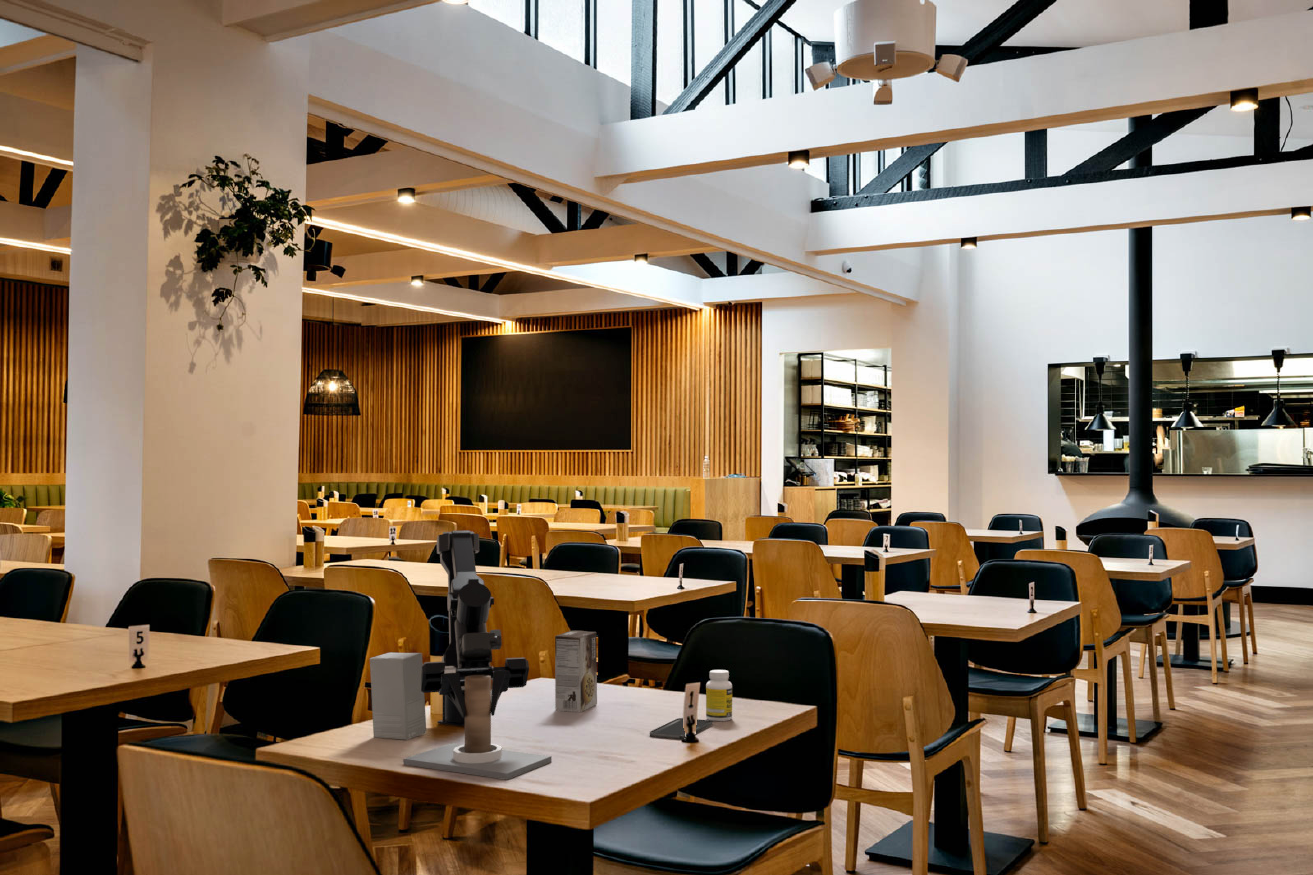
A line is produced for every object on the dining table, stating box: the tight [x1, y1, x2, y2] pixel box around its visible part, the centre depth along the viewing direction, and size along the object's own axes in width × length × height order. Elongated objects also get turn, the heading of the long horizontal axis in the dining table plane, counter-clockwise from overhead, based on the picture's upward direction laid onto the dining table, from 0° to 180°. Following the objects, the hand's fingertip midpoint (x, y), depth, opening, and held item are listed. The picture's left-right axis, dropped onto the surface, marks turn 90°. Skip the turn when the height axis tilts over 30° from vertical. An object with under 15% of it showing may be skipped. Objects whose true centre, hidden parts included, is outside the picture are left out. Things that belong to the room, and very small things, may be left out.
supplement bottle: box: [705, 669, 733, 722], centre depth 223 cm, size 5×5×10 cm
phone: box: [649, 717, 714, 741], centre depth 213 cm, size 8×1×15 cm
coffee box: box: [554, 630, 598, 713], centre depth 236 cm, size 9×6×16 cm
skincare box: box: [369, 652, 427, 741], centre depth 210 cm, size 8×7×16 cm
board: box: [403, 742, 553, 781], centre depth 188 cm, size 22×13×2 cm, turn 62°
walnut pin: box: [464, 675, 492, 753], centre depth 188 cm, size 4×4×13 cm
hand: (478, 715), depth 187 cm, fingers open, 5 cm apart
